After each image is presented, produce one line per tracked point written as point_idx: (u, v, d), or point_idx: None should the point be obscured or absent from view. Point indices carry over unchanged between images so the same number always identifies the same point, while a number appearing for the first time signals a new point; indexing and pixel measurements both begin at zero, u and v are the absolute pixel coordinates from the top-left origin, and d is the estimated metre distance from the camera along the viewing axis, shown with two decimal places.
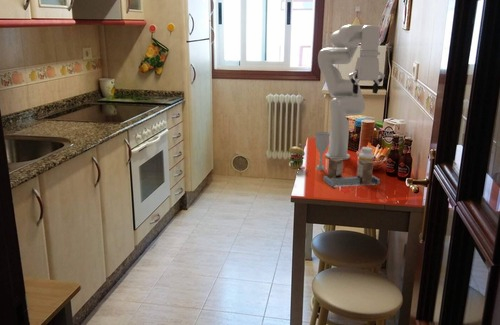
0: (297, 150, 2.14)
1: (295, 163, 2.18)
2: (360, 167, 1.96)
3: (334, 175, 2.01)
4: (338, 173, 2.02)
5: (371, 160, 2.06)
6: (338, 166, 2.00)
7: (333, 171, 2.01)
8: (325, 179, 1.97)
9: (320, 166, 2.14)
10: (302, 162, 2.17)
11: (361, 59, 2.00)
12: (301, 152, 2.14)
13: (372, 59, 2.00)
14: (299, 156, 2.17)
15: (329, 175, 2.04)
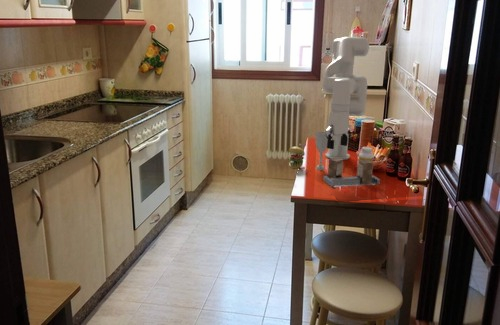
0: (297, 150, 2.14)
1: (295, 163, 2.18)
2: (360, 167, 1.96)
3: (334, 175, 2.01)
4: (338, 173, 2.02)
5: (371, 160, 2.06)
6: (338, 166, 2.00)
7: (333, 171, 2.01)
8: (325, 179, 1.97)
9: (320, 166, 2.14)
10: (302, 162, 2.17)
11: (337, 114, 1.92)
12: (301, 152, 2.14)
13: (345, 113, 1.95)
14: (299, 156, 2.18)
15: (329, 175, 2.04)
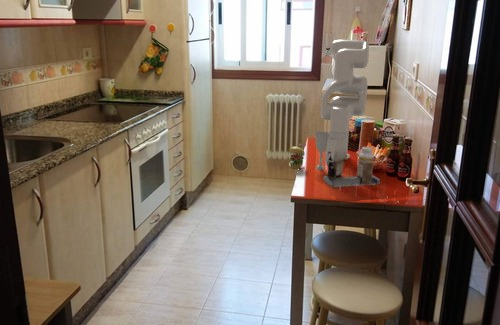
0: (297, 150, 2.14)
1: (295, 163, 2.18)
2: (360, 167, 1.96)
3: (334, 175, 2.01)
4: (338, 173, 2.02)
5: (371, 160, 2.06)
6: (338, 166, 2.00)
7: None
8: (325, 179, 1.97)
9: (320, 166, 2.14)
10: (302, 162, 2.17)
11: (335, 141, 1.96)
12: (301, 152, 2.14)
13: (343, 140, 1.99)
14: (299, 156, 2.17)
15: None
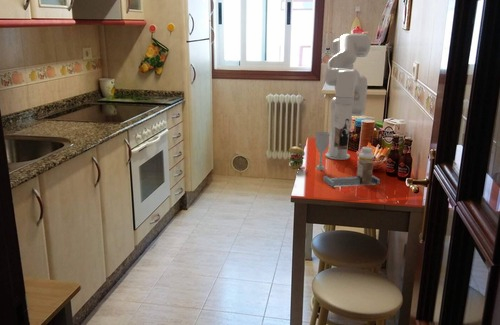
0: (297, 150, 2.14)
1: (295, 163, 2.18)
2: (360, 167, 1.96)
3: None
4: None
5: (371, 160, 2.06)
6: None
7: None
8: (325, 179, 1.97)
9: (320, 166, 2.14)
10: (302, 162, 2.17)
11: (351, 107, 1.85)
12: (301, 152, 2.14)
13: None
14: (299, 156, 2.17)
15: None
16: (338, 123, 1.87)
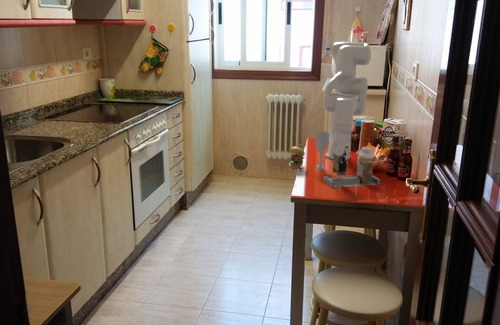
0: (297, 150, 2.14)
1: (295, 163, 2.18)
2: (360, 167, 1.96)
3: None
4: None
5: (371, 160, 2.06)
6: None
7: None
8: (325, 179, 1.97)
9: (320, 166, 2.14)
10: (302, 162, 2.17)
11: (350, 134, 1.86)
12: (301, 152, 2.14)
13: None
14: (299, 156, 2.17)
15: None
16: (337, 150, 1.89)
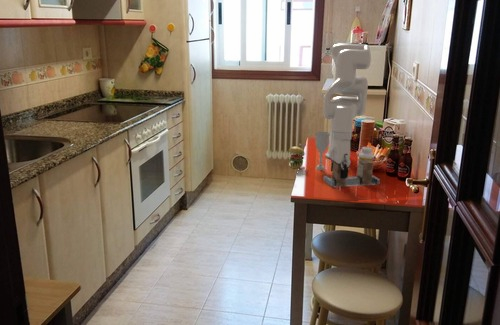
0: (297, 150, 2.14)
1: (295, 163, 2.18)
2: (360, 167, 1.96)
3: (344, 179, 1.94)
4: None
5: (371, 160, 2.06)
6: None
7: None
8: (325, 179, 1.97)
9: (320, 166, 2.14)
10: (302, 162, 2.17)
11: (349, 142, 1.87)
12: (301, 152, 2.14)
13: None
14: (299, 156, 2.17)
15: (338, 181, 1.93)
16: (337, 157, 1.90)
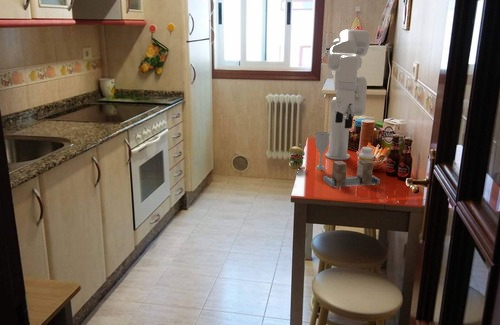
0: (297, 150, 2.14)
1: (295, 163, 2.18)
2: (360, 167, 1.96)
3: (344, 179, 1.94)
4: None
5: (371, 160, 2.06)
6: None
7: (343, 175, 1.93)
8: (325, 179, 1.97)
9: (320, 166, 2.14)
10: (302, 162, 2.17)
11: (354, 92, 1.89)
12: (301, 152, 2.14)
13: None
14: (299, 156, 2.17)
15: (338, 181, 1.93)
16: (341, 108, 1.91)
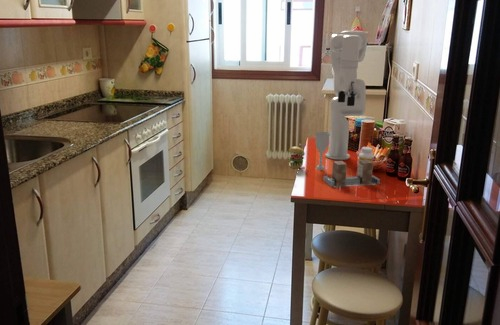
0: (297, 150, 2.14)
1: (295, 163, 2.18)
2: (360, 167, 1.96)
3: (344, 179, 1.94)
4: None
5: (371, 160, 2.06)
6: None
7: (343, 175, 1.93)
8: (325, 179, 1.97)
9: (320, 166, 2.14)
10: (302, 162, 2.17)
11: (356, 70, 1.96)
12: (301, 152, 2.14)
13: None
14: (299, 156, 2.17)
15: (338, 181, 1.93)
16: (344, 86, 1.98)
